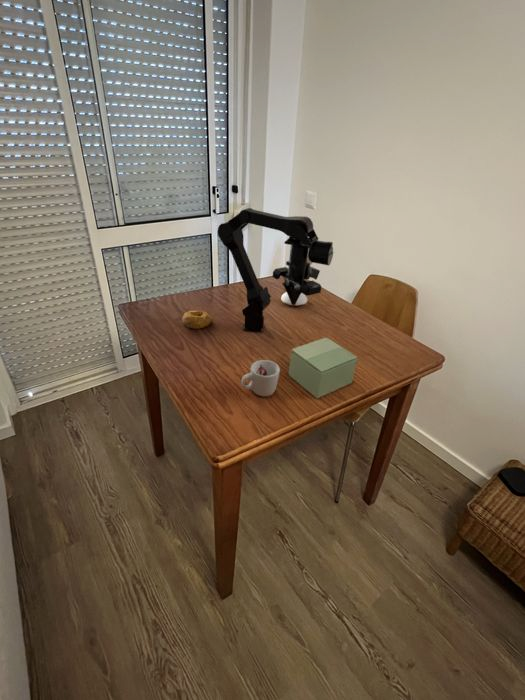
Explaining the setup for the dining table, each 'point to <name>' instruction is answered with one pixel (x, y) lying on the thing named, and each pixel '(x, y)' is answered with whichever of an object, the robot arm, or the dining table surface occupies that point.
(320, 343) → the flap
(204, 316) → the bagel
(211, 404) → the dining table surface
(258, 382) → the cup
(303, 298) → the flower in vase
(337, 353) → the carton
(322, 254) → the robot arm
